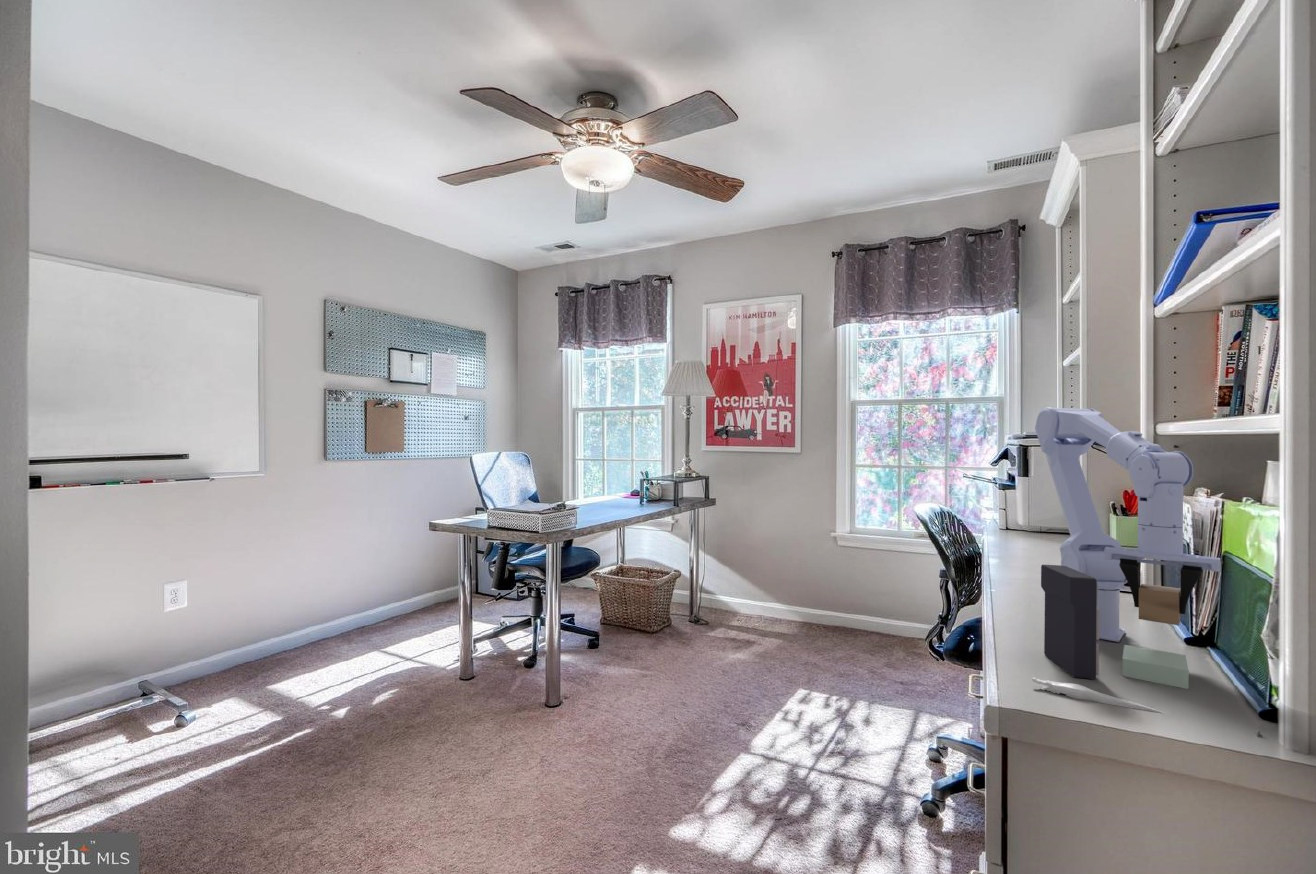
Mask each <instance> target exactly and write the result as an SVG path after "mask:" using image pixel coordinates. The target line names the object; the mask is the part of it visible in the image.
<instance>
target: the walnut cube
mask: <svg viewBox="0 0 1316 874" xmlns="http://www.w3.org/2000/svg"><path fill="white" fill-rule="evenodd" d="M1180 596H1181V587H1170V586H1164V585H1163V586H1162V585H1155V584H1147V583H1140V587H1139V607H1138V620H1143V621H1147V622H1154V623H1159V624H1160V623H1161V624H1168V625H1174V626H1180V623H1181V620H1182V619H1181V618H1182V614H1179V605H1180Z"/></svg>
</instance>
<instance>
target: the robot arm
mask: <svg viewBox="0 0 1316 874" xmlns="http://www.w3.org/2000/svg"><path fill="white" fill-rule="evenodd" d="M1034 430H1035V432H1036V436H1037V439H1038V442H1039V446H1040V449H1041V451H1042V452H1043V454H1045V457H1046V461H1047V465H1048V468H1049V471H1050V474H1051V477H1052V480H1053V484H1054V487H1055V490H1056V493H1057V496H1058V499H1059V502H1060V506H1061V509H1062V512H1063V516H1064V519H1065V522H1066V525H1067V528H1068V529H1067V530H1068V531H1069V537H1068V538H1067V539H1066V540H1065V541H1063V542H1062V544H1061V545H1060V547H1059V552H1060V559H1061V561H1060V565H1061V566H1067V567H1069V568H1072V569H1074V570H1076V571H1079V572H1081V573H1084V574H1086V575H1089V576H1091V577H1094V578H1095V579H1096V580H1097V582H1098V605H1097V608H1098V609H1099V640H1105V641H1111V642H1117V643H1119V642H1120V641H1121V639H1122V638H1123V636H1124V635H1125V633H1126V629H1125V628H1120V603H1121V602H1120V599H1121V598H1120V597H1121V596H1120V594H1121V593H1120V589H1124V588H1125V584H1128V586H1129V589H1130V592H1131V595H1132V599H1133V603H1134V608H1139V587H1140V586H1141V570H1142V569H1141V567H1142V564H1153V565H1159V566H1160V565H1161V566H1168V567H1169V566H1170V567H1178V568H1181V569H1180V589H1181V596H1180V605H1179V614H1181V615H1186V610H1187V605H1188V601H1189V600H1190V599H1189V598H1190V596H1191V593H1192V592H1193V590H1194V587H1195V585H1197V583H1198V581H1199V579H1200V578H1201V576H1202V574H1203V570H1206V571H1211V572H1219V573H1220V572H1221V558H1220V557H1213V556H1205V555H1203V556H1202V555H1196V554H1190V553H1189V554H1188V553H1184V487H1186V486H1187V485H1188V484H1189V483H1191V481H1192V479H1193V477H1194V465H1193V462H1192V460H1191V459H1190V457H1188V455H1186V454H1185V453H1184V452H1183V451H1170V452H1169V451H1166V450H1165V449H1163V448H1162V445H1161V444H1160V445H1159V444H1158V443H1153V442H1151V441H1149V440H1147V439H1146V438H1144V437H1143V433H1141V432H1140V431H1137V430H1135V431H1134V430H1127V431H1123V432H1122V431H1121V430H1119V429H1118V428H1116V427H1114V426H1113V425H1112V424H1111V423H1109V422H1108V421H1107V420H1106V419H1104V416H1103V413H1102V412H1101V411H1098V410H1096V409H1095V408H1091V407H1087V408H1070V407H1069V408H1068V407H1067V408H1063V407H1061V408H1059V407H1050V406H1049V407H1044V408H1042V409H1041V410H1040V412H1039V413H1038V415H1037V418H1036V422H1035V427H1034ZM1094 442H1096V443H1097V444H1099V445H1101V446H1103V447H1104V448H1105V452H1106V453H1105V454H1106V455H1107V457H1108V458H1109V459H1110V460H1112V461H1113V462H1115V463H1117V464H1119V466H1120V467H1122V468H1124V469H1126V470H1127V471H1128V474H1129V478H1130V480H1131V482H1132V484H1133V493H1134V494H1135V496H1136V497H1137V548H1128V547H1127V548H1126V547H1125V548H1124V547H1122V546H1121V542H1120V541H1119V540H1117V539H1116V538H1114V537H1112V536H1110V535H1109V534H1107V533H1106V532H1105V531H1104V530H1103V527H1102V525H1101V521H1100V518H1099V515H1098V513H1097V510H1096V507H1095V503H1094V500H1093V498H1092V495H1091V490H1090V489H1089V486H1088V483H1087V480H1086V477H1085V473H1084V471H1083V468H1082V465H1081V463H1080V456H1082V455H1085V454H1086V453H1088V452H1089V450H1090V448H1091V447H1092V445H1093V444H1094Z"/></svg>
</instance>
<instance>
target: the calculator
mask: <svg viewBox="0 0 1316 874" xmlns="http://www.w3.org/2000/svg"><path fill="white" fill-rule="evenodd" d="M1040 566H1041V567H1040V586H1041V588H1042V590H1043V592H1044V635H1043V636H1044V639H1043V641H1044V642H1043V643H1044V645H1043V646H1044V647H1043V650H1044V651H1043V652H1044V656H1046V657H1047V658H1048V659H1050V661H1052V662H1053V663H1055V664H1056V665H1057V666H1059V667H1060V668H1061V669H1062V670H1064V672H1066V673H1067V674H1069V675H1070V676H1071V677H1073V678H1075V679H1085V680H1086V679H1089V680H1095V679H1096V678H1097V676H1099V674H1100V673H1099V671H1100V668H1099V667H1100V656H1099V655H1100V645H1099V644H1098V642H1097V641H1099V640H1100V639H1099V609H1098V608H1097V605H1098V582H1097V580H1096V579H1095V578H1094V577H1091V576H1089V575H1086V574H1084V573H1081V572H1079V571H1076V570H1074V569H1072V568H1069V567H1067V566H1061V564H1060V565H1059V564H1057V565H1056V564H1042V565H1040Z"/></svg>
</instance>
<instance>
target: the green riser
mask: <svg viewBox="0 0 1316 874" xmlns="http://www.w3.org/2000/svg"><path fill="white" fill-rule="evenodd" d="M1121 670H1122V671H1121V672H1122V677H1126V678H1131V679H1136V680H1141V681H1144V682H1145V681H1146V682H1151V683H1156V684H1161V685H1166V686H1171V687H1177V688H1181V689H1186V690H1187V689H1189V687H1190V686H1189V684H1190V683H1189V677H1190V676H1189V665H1188V662H1187V655H1186V654H1183V653H1182V654H1181V653H1176V652H1175V653H1174V652H1171V651H1165V650H1164V651H1163V650H1159V649H1158V650H1157V649H1151V648H1146V647H1141V646H1134V645H1129V644H1123V652H1122V669H1121Z"/></svg>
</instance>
